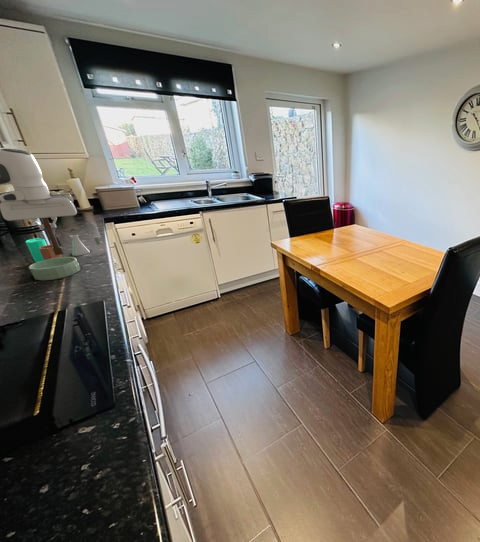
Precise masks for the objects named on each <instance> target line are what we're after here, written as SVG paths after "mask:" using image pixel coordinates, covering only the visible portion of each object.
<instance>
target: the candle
mask: <svg viewBox="0 0 480 542" xmlns="http://www.w3.org/2000/svg"><path fill="white" fill-rule="evenodd" d="M25 244H26V246H27V248H28V250H29V252H30V254H31V256H32V258H33V261H34V263H36V262H39V261H43V260H44V258H43V256H42V254H41V252H40V249H39V247H42V246H46V245H48V244H47V242H46V241H45V238H41V237H36V238H35V237H34V236H33V237H32V238H30V239H27V240H25Z"/></svg>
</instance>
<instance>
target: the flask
mask: <svg viewBox="0 0 480 542" xmlns="http://www.w3.org/2000/svg"><path fill="white" fill-rule="evenodd" d="M69 238H70V239H71V243H72V244H71V250H72V251H71V255H72V256H83V255H87V254H90V252H91V251H90V250H89V249H88V248H87V247H86V246H85V245H84V243H83V242H82V241H81V240H80V238H79V234H71V235H69Z"/></svg>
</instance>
